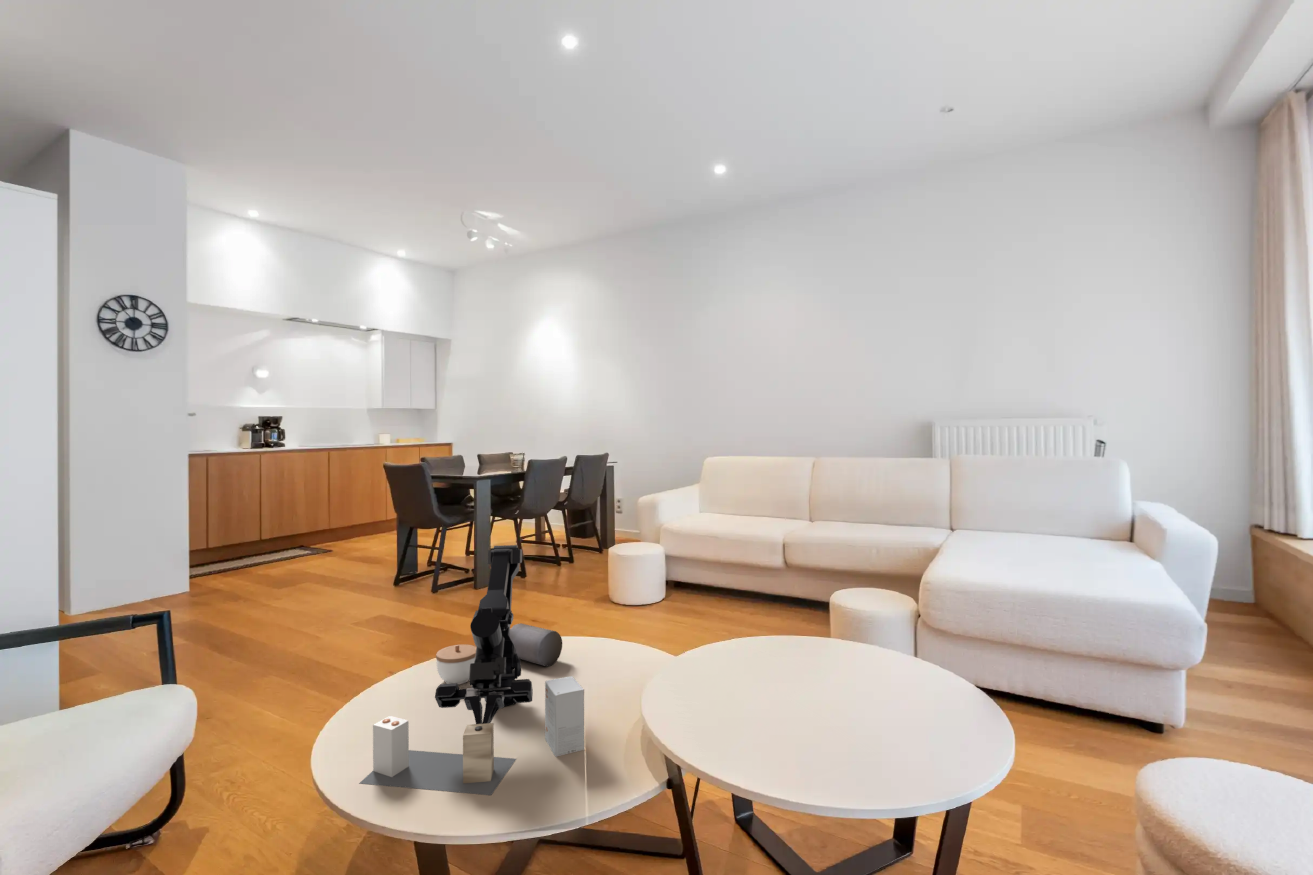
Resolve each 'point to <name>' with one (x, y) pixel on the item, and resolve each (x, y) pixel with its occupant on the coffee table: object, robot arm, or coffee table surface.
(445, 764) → the mat
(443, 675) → the lidded jar
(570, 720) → the small box
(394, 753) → the tile two
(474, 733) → the tile one
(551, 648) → the pillar candle
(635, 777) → the coffee table surface
